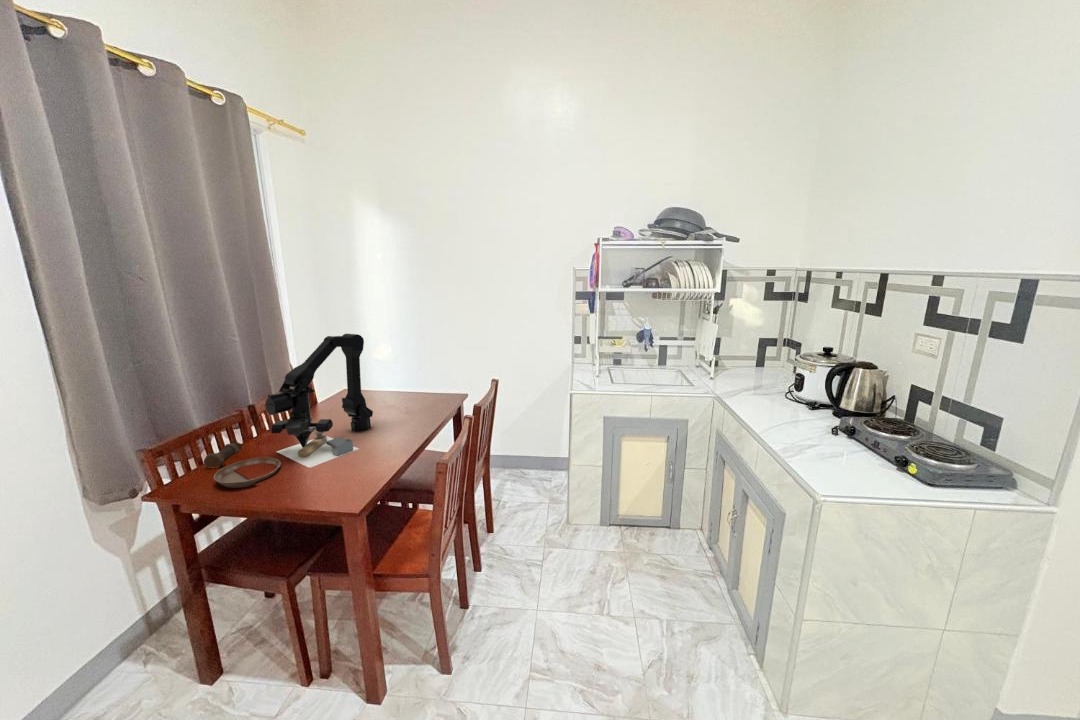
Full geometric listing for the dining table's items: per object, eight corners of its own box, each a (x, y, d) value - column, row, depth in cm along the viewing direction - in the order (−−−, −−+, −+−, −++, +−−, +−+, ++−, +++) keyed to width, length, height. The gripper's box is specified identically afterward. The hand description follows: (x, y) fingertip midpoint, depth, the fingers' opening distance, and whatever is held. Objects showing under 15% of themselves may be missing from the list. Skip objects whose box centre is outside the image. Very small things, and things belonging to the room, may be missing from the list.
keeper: (342, 445, 159) (341, 436, 158) (353, 450, 155) (352, 440, 154) (326, 451, 154) (325, 441, 154) (337, 456, 150) (336, 446, 150)
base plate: (325, 437, 170) (325, 435, 170) (359, 451, 157) (359, 448, 156) (276, 454, 155) (276, 451, 155) (309, 470, 142) (309, 467, 142)
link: (317, 440, 164) (316, 428, 163) (329, 439, 164) (327, 428, 163) (296, 456, 150) (294, 444, 149) (309, 456, 150) (307, 444, 149)
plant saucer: (283, 461, 151) (281, 452, 150) (279, 483, 135) (278, 473, 134) (221, 472, 143) (219, 463, 142) (210, 497, 127) (208, 487, 127)
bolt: (241, 455, 160) (216, 472, 145) (227, 449, 159) (201, 466, 144) (248, 441, 159) (223, 457, 145) (234, 435, 158) (208, 451, 144)
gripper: (260, 415, 143) (265, 459, 146) (321, 414, 146) (324, 457, 149) (275, 404, 154) (280, 446, 157) (331, 403, 157) (334, 444, 160)
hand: (304, 448), depth 156 cm, fingers closed
